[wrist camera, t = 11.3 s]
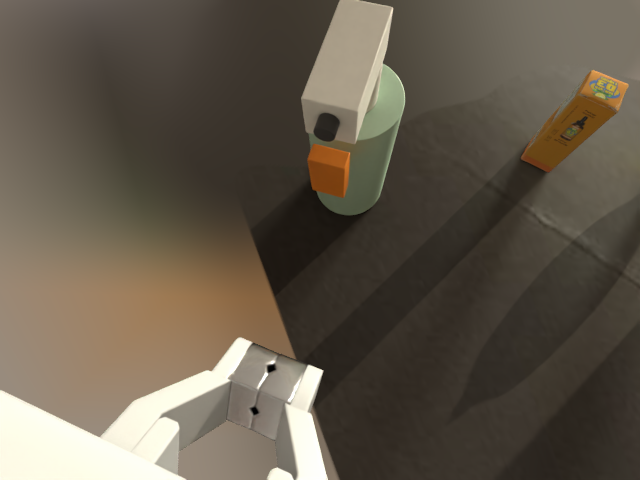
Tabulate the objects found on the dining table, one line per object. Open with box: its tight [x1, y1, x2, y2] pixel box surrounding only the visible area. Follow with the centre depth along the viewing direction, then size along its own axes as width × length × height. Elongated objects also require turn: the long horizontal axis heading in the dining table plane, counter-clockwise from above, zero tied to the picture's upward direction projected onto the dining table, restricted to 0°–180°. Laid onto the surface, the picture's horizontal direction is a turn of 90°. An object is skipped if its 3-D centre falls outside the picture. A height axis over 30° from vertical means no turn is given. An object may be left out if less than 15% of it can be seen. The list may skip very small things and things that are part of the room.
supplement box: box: [521, 70, 628, 172], centre depth 34 cm, size 3×3×10 cm
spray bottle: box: [301, 0, 405, 215], centre depth 29 cm, size 10×7×20 cm
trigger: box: [308, 144, 350, 198], centre depth 24 cm, size 1×2×4 cm, turn 72°
